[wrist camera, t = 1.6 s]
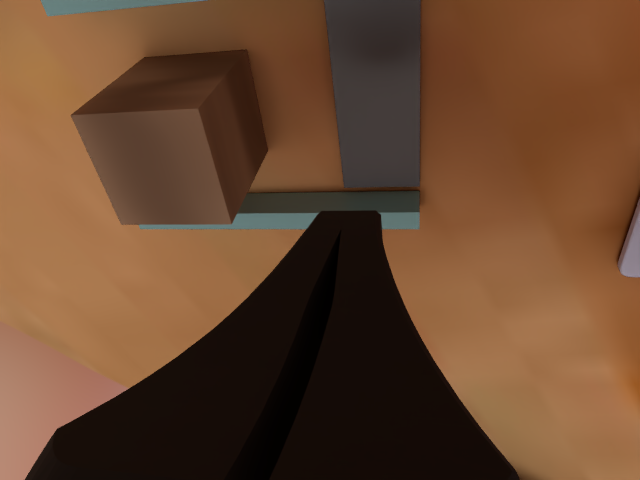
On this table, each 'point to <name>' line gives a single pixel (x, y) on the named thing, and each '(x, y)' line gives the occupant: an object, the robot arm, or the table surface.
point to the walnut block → (177, 138)
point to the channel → (345, 114)
